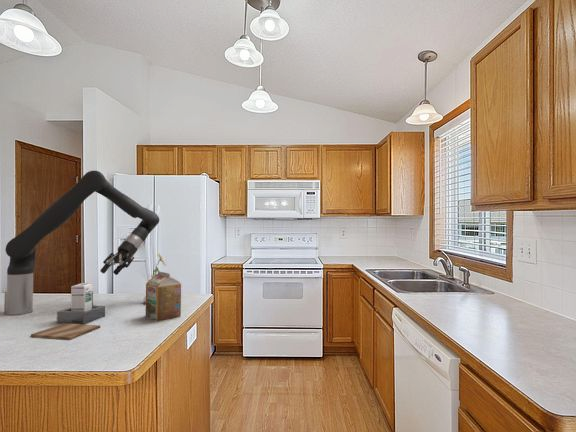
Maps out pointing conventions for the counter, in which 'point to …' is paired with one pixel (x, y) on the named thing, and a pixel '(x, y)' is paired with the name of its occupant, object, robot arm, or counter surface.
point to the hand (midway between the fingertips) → (108, 273)
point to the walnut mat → (65, 331)
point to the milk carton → (163, 297)
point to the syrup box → (82, 297)
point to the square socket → (80, 315)
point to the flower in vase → (156, 270)
